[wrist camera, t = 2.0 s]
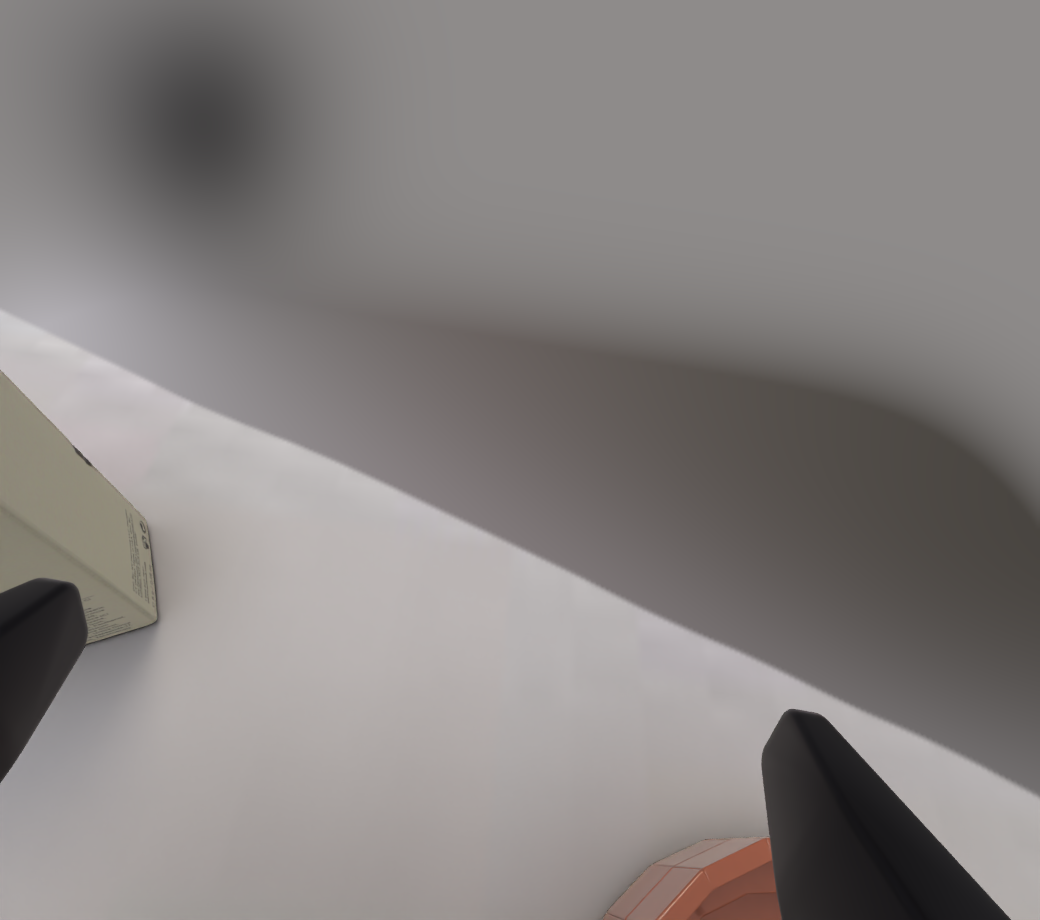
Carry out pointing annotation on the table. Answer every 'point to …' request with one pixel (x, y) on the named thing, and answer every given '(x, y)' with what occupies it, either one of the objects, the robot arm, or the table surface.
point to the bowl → (705, 884)
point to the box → (69, 522)
